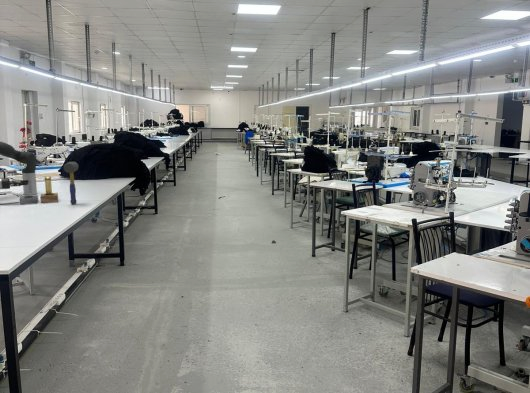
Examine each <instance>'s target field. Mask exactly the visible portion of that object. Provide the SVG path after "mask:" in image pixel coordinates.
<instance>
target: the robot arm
mask: <svg viewBox="0 0 530 393" xmlns="http://www.w3.org/2000/svg"><path fill="white" fill-rule="evenodd" d="M0 156H3V157H5V158H8V159H11V160H12V159H13V160H14V161H16V162H18V163H20V164H22V165H23V164H24V165H26V166H25V167H24V168H22V169H21V176H22V177H21V179H12V180H11V179H10V178H8V177H7V178H6V177H2V178H1V177H0V190H10V189H11V187H12V188H13V187H21V186H22V188H23V189H22V190H23V196H33V195H38V190H37V189H38V187H37V176H36V170H37V169H36V168H37V160H36V155H35V153H34V152H31V151H20V150H17V149H15V147H14V146H12V145H11V144H9V143H6V142H4V141H0Z"/></svg>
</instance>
